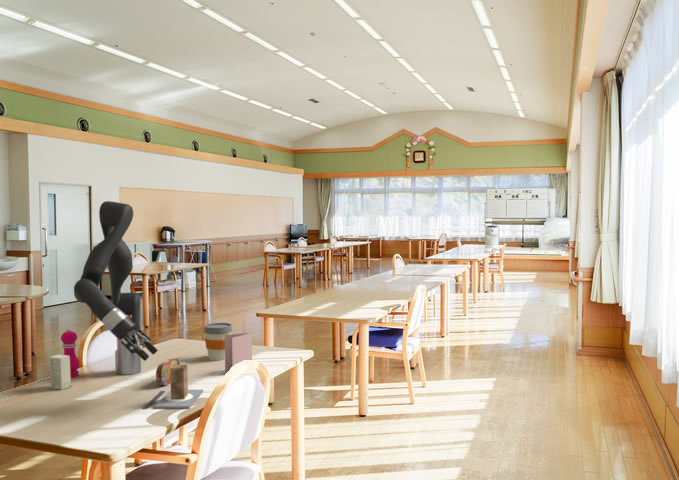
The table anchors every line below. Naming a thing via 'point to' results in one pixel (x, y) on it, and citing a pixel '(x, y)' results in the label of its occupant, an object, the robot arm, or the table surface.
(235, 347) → the greeting card
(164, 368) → the tin
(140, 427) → the table surface
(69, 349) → the pepper mill
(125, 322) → the robot arm
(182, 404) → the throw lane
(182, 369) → the square wooden post
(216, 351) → the reusable coffee cup
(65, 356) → the skincare box
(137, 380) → the table surface
